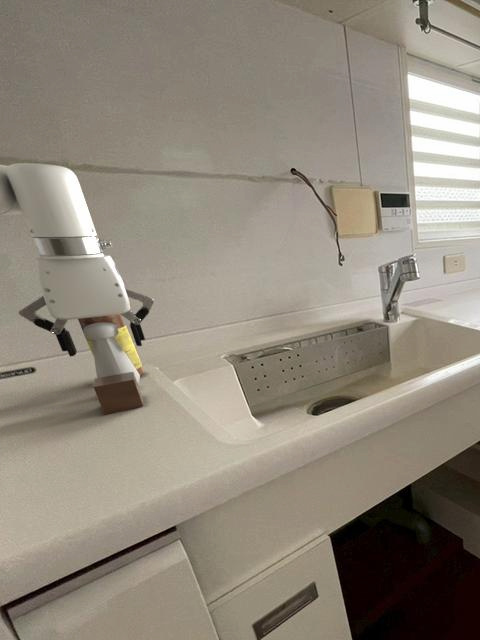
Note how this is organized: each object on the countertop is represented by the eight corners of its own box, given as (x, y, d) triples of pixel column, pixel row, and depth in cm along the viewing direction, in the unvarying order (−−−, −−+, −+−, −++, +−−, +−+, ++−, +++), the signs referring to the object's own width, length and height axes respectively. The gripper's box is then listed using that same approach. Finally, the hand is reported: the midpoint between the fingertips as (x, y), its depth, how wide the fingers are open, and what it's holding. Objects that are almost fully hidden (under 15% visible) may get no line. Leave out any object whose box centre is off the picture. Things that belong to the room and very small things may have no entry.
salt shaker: (142, 382, 79) (119, 318, 75) (145, 391, 76) (122, 324, 71) (102, 391, 76) (75, 323, 71) (103, 400, 72) (75, 330, 67)
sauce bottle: (139, 370, 86) (106, 275, 78) (149, 376, 82) (115, 278, 75) (98, 379, 81) (59, 279, 73) (107, 386, 77) (66, 282, 70)
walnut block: (105, 404, 70) (94, 378, 68) (142, 397, 73) (133, 371, 71) (104, 414, 67) (93, 387, 65) (143, 406, 70) (133, 379, 68)
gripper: (138, 245, 74) (166, 336, 80) (-6, 249, 63) (40, 354, 70) (139, 247, 69) (169, 344, 75) (-17, 252, 58) (34, 365, 64)
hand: (107, 348), depth 72 cm, fingers open, 8 cm apart
